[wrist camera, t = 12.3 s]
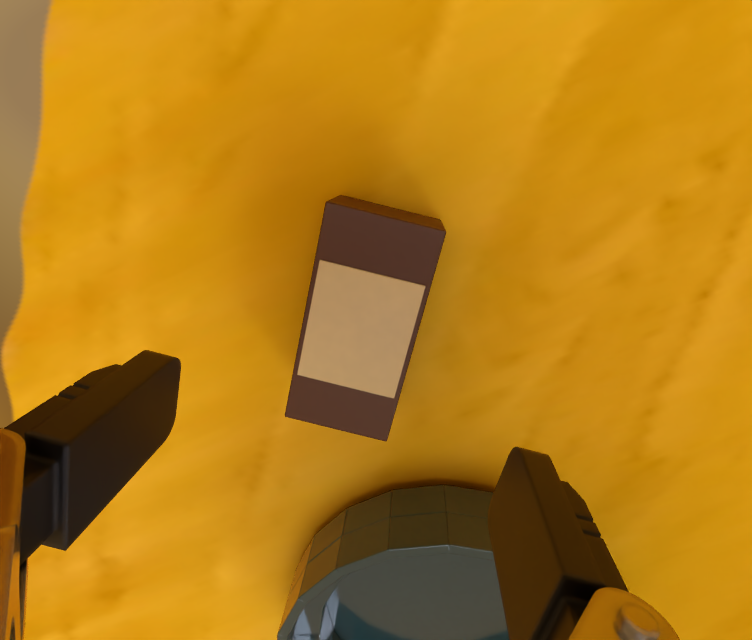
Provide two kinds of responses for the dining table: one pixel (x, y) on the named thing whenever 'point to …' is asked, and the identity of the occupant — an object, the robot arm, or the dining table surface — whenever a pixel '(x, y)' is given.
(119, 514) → the dining table surface
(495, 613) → the snack bowl
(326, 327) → the oat bar
